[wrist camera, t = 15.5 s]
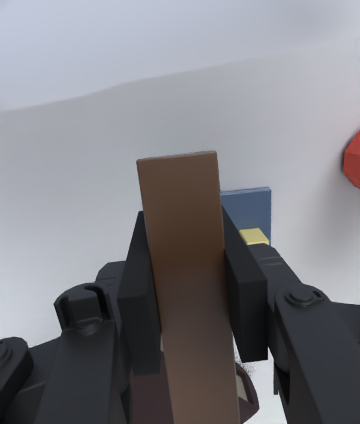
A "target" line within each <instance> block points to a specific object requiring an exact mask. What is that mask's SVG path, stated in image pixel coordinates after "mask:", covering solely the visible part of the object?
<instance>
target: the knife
mask: <svg viewBox="0 0 360 424" xmlns="http://www.w3.org/2000/svg"><path fill="white" fill-rule="evenodd" d="M136 164H137V171H138V178H139V185H140V191H141V198H142V205H143V212H144V219H145V226H146V233H147V240H148V247H149V253H150V260H151V267H152V274H153V281H154V288H155V295H156V302H157V308H158V315H159V322H160V329H161V336H162V343H163V350H164V357H165V364H166V370H167V377H168V384H169V391H170V398H171V405H172V412H173V419H174V424H240V414H239V403H238V391H237V379H236V368H235V356H234V345H233V333H232V329H231V325H230V314H229V302H228V291H227V279H226V268H225V257H224V249H225V240H224V228H223V217H222V205H221V194H220V182H219V170H218V159H217V152H216V151H201V152H192V153H184V154H175V155H167V156H158V157H150V158H144V159H138V160H137V161H136Z"/></svg>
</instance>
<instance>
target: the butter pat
mask: <svg viewBox="0 0 360 424" xmlns="http://www.w3.org/2000/svg"><path fill="white" fill-rule="evenodd" d="M239 233H240V235H241V237H242V238H243V240H244V241H245V243H246V245H250V244H258V243H266V244H267V245H269V240H268V239H267V238H266V236H265V235H264V234H263V233H262V231H261V230H260V229H259V228H254V229H244V230H239Z"/></svg>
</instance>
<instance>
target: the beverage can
mask: <svg viewBox="0 0 360 424" xmlns="http://www.w3.org/2000/svg"><path fill="white" fill-rule="evenodd" d="M344 173H345V175H346V176H347V177H348V178H349V180H350V181H351V182H352V183H353V185H354V186H355V187H358V188H360V131H359V132H357V134H356V135H355V137H354V138H353V140H352V141H351V143H350V144H349V146H348V147H347V149H346V150H345V152H344Z"/></svg>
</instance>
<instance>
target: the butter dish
mask: <svg viewBox="0 0 360 424" xmlns="http://www.w3.org/2000/svg"><path fill="white" fill-rule="evenodd" d="M220 194H221V204H222V205H223V207H224V209H225V210H226V212H227V214H228V215H229V217H230V218H231V220H232V222H233V223H234V225H235V227H236V228H237V230H238V232H239V230H244V229H254V228H259V229H260V230H261V231H262V233H263V234H264V235H265V236H266V238H267V239H268V240H269V246H271V189H270V188H268V187H264V188H255V189H245V190H236V191H227V192H220Z"/></svg>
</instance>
